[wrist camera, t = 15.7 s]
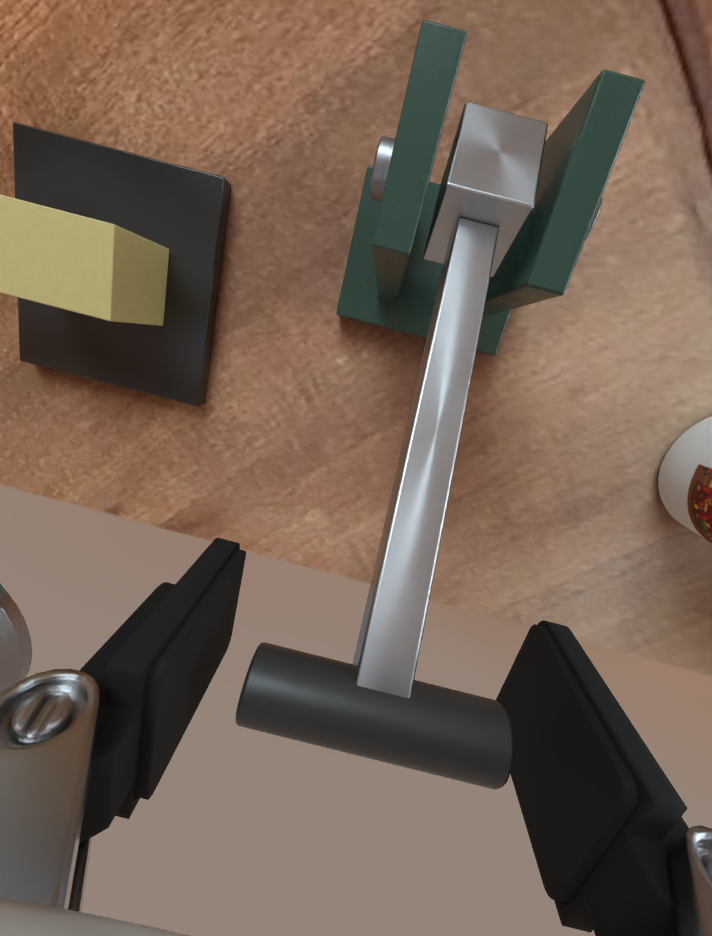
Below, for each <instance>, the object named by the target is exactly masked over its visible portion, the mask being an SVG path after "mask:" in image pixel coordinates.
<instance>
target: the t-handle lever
mask: <svg viewBox="0 0 712 936" xmlns="http://www.w3.org/2000/svg"><path fill="white" fill-rule="evenodd" d="M547 127H548V124H547V123H545V122H541V121H538V120H534V119H530V118H526V117H523V116H519V115H515V114H511V113H508V112H504V111H500V110H496V109H493V108H489V107H485V106H481V105H478V104H474V103H470V102H466V104H465V105H464V108H463V112H462V115H461V118H460V122H459V125H458V128H457V132H456V135H455V138H454V142H453V145H452V148H451V152H450V155H449V158H448V162H447V165H446V169H445V172H444V175H443V179H442V182H441V185H440V189H439V193H438V197H437V201H436V205H435V209H434V214H433V218H432V222H431V226H430V230H429V234H428V238H427V242H426V246H425V251H424V255H423V258H424V259H425V260H428V261H432V262H436V263H439V264H443V268H442V272H441V276H440V281H439V285H438V290H437V294H436V298H435V303H434V307H433V312H432V316H431V321H430V325H429V329H428V334H427V338H426V343H425V347H424V351H423V356H422V360H421V365H420V369H419V374H418V378H417V382H416V387H415V391H414V396H413V400H412V404H411V409H410V413H409V418H408V422H407V427H406V431H405V435H404V440H403V444H402V449H401V453H400V457H399V462H398V466H397V471H396V475H395V480H394V484H393V488H392V493H391V497H390V502H389V506H388V511H387V515H386V519H385V524H384V528H383V533H382V537H381V541H380V546H379V550H378V555H377V559H376V564H375V568H374V572H373V577H372V581H371V586H370V590H369V595H368V599H367V603H366V608H365V612H364V617H363V621H362V626H361V630H360V634H359V639H358V643H357V647H356V652H355V656H354V661H353V664H349V663H344V662H341V661H337V660H333V659H329V658H325V657H321V656H317V655H312V654H309V653H305V652H301V651H297V650H293V649H289V648H285V647H281V646H277V645H273V644H269V643H265V642H264V643H261V644H260V645H259V646H258V648H257V650H256V652H255V654H254V656H253V659H252V661H251V664H250V666H249V670H248V672H247V675H246V678H245V681H244V685H243V688H242V691H241V695H240V698H239V702H238V707H237V711H236V724H237V725H239V726H242V727H246V728H250V729H254V730H258V731H262V732H266V733H270V734H274V735H278V736H282V737H286V738H290V739H294V740H298V741H302V742H306V743H310V744H314V745H318V746H322V747H326V748H331V749H334V750H338V751H342V752H346V753H350V754H354V755H358V756H362V757H366V758H370V759H374V760H378V761H382V762H386V763H390V764H394V765H398V766H402V767H406V768H410V769H415V770H419V771H423V772H427V773H431V774H435V775H439V776H443V777H447V778H451V779H455V780H459V781H463V782H467V783H471V784H475V785H479V786H483V787H487V788H491V789H498V788H501V787H503V786H504V784H506V782H507V780H508V778H509V775H510V772H511V768H512V762H513V749H514V748H513V732H512V726H511V722H510V719H509V716H508V713H507V711H506V709H505V708H504V706H503V705H502V704H501V703H499V702H498V701H496V700H492V699H488V698H484V697H480V696H476V695H472V694H468V693H464V692H460V691H456V690H452V689H448V688H444V687H440V686H436V685H432V684H428V683H424V682H420V681H416V680H414V678H415V672H416V667H417V661H418V656H419V650H420V646H421V640H422V635H423V629H424V624H425V619H426V614H427V608H428V603H429V598H430V593H431V587H432V582H433V577H434V571H435V566H436V561H437V556H438V550H439V545H440V540H441V534H442V529H443V524H444V518H445V513H446V508H447V503H448V497H449V492H450V487H451V481H452V476H453V471H454V465H455V460H456V455H457V450H458V444H459V439H460V434H461V428H462V423H463V418H464V412H465V407H466V402H467V396H468V391H469V386H470V381H471V375H472V370H473V365H474V359H475V354H476V349H477V343H478V338H479V333H480V328H481V322H482V317H483V312H484V306H485V301H486V296H487V290H488V285H489V280H490V277H494V276H495V274H496V273H497V271H498V269H499V267H500V266H501V264H502V262H503V261H504V259H505V257H506V255H507V254H508V252H509V250H510V249H511V247H512V245H513V243H514V242H515V240H516V238H517V237H518V235H519V233H520V232H521V230H522V228H523V226H524V225H525V223H526V221H527V220H528V218H529V216H530V214H531V213H532V211H533V209H534V207H535V201H536V195H537V188H538V182H539V176H540V170H541V164H542V158H543V152H544V146H545V140H546V133H547Z"/></svg>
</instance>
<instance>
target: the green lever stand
mask: <svg viewBox="0 0 712 936" xmlns="http://www.w3.org/2000/svg"><path fill="white" fill-rule="evenodd" d="M466 36H467V32H466V31H464V30H460V29H456V28H453V27H449V26H445V25H441V24H438V23H434V22H430V21H426V20H423V22H422V24H421V29H420V33H419V38H418V42H417V46H416V51H415V55H414V60H413V64H412V68H411V73H410V77H409V81H408V86H407V90H406V95H405V99H404V103H403V108H402V112H401V116H400V121H399V125H398V130H397V134H396V138H395V139H393V138H389V137H385V136H382V137H381V139H380V141H379V144H378V147H377V151H376V155H375V160H374V165H373V167H372V166H368V168H367V172H366V177H365V182H364V186H363V191H362V196H361V200H360V205H359V210H358V214H357V219H356V224H355V228H354V233H353V238H352V242H351V247H350V252H349V256H348V261H347V266H346V270H345V275H344V280H343V284H342V289H341V294H340V299H339V303H338V308H337V315H338V316H340V317H344V318H348V319H352V320H356V321H360V322H363V323H367V324H371V325H375V326H379V327H383V328H386V329H390V330H394V331H398V332H402V333H406V334H410V335H413V336H417V337H421V338H425V339H426V338H427V334H428V329H429V325H430V321H431V316H432V312H433V307H434V303H435V298H436V294H437V290H438V285H439V281H440V276H441V272H442V268H443V264H439V263H436V262H432V261H428V260H425V259H424V258H423V255H424V251H425V246H426V242H427V238H428V234H429V230H430V226H431V222H432V218H433V214H434V209H435V205H436V201H437V197H438V193H439V189H440V184H437V183H433V182H429V179H430V176H431V172H432V168H433V164H434V160H435V156H436V152H437V148H438V145H439V141H440V137H441V133H442V129H443V125H444V121H445V118H446V114H447V110H448V106H449V102H450V98H451V94H452V91H453V87H454V83H455V79H456V75H457V71H458V67H459V63H460V60H461V56H462V52H463V48H464V44H465V40H466ZM644 84H645V81H644V80H642V79H638V78H635V77H631V76H627V75H623V74H620V73H616V72H612V71H608V70H603V71H602V72H601V73H600V74H599V75H598V77H597V78H596V79H595V80H594V82H593V83H592V84H591V86H590V87H589V88H588V89H587V91H586V92H585V93H584V94H583V96H582V97H581V98H580V99H579V101H578V102H577V103H576V104H575V106H574V107H573V108H572V109H571V111H570V112H569V113H568V114H567V116H566V117H565V118H564V119H563V121H562V122H561V123H560V124H559V126H558V127H557V128H556V129H555V131H554V132H553V133H552V134H551V136H550V137H549V138H548V139H547V141H546V142H545V146H544V152H543V158H542V164H541V170H540V176H539V182H538V188H537V195H536V201H535V207H534V209H533V211H532V213H531V214H530V216H529V218H528V220H527V221H526V223H525V225H524V226H523V228H522V230H521V232H520V233H519V235H518V237H517V238H516V240H515V242H514V243H513V245H512V247H511V249H510V250H509V252H508V254H507V255H506V257H505V259H504V261H503V262H502V264H501V266H500V267H499V269H498V271H497V273H496V274H495V276H494V277H490V280H489V285H488V290H487V296H486V301H485V306H484V312H483V317H482V322H481V328H480V333H479V338H478V343H477V349H476V352H479V353H483V354H486V355H493V356H495V355H496V353H497V350H498V347H499V344H500V341H501V338H502V335H503V333H504V330H505V327H506V324H507V321H508V318H509V315H510V312H511V309H514V308H518V307H522V306H525V305H529V304H532V303H536V302H539V301H543V300H547V299H550V298H554V297H557V296H561V295H563V294H564V293H565V291H566V288H567V286H568V283H569V280H570V278H571V275H572V273H573V270H574V267H575V265H576V262H577V260H578V257H579V254H580V252H581V249H582V247H583V244H584V241H585V240H586V238H587V237H588V235H589V234H590V232H591V230H592V229H593V227H594V225H595V222H596V220H597V218H598V215H599V212H600V209H601V205H602V194H603V192H604V189H605V186H606V184H607V181H608V179H609V176H610V173H611V171H612V168H613V166H614V163H615V160H616V158H617V155H618V153H619V150H620V147H621V145H622V142H623V139H624V137H625V134H626V132H627V129H628V126H629V124H630V121H631V119H632V116H633V113H634V111H635V108H636V105H637V103H638V100H639V98H640V95H641V92H642V90H643V87H644Z"/></svg>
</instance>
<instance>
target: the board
mask: <svg viewBox="0 0 712 936" xmlns="http://www.w3.org/2000/svg"><path fill="white" fill-rule="evenodd" d="M13 141H14V175H15V199H19V200H23V201H27V202H31V203H34V204H38V205H42V206H46V207H50V208H54V209H57V210H61V211H65V212H69V213H73V214H77V215H80V216H84V217H88V218H92V219H96V220H100V221H103V222H107V223H111V224H115V225H117V226H119V227H121V228H123V229H126V230H128V231H130V232H132V233H135V234H137V235H139V236H141V237H144V238H146V239H148V240H150V241H152V242H155V243H157V244H159V245H161V246H164V247H166V248H168V249H169V259H168V272H167V284H166V296H165V308H164V320H163V326H159V325H147V324H136V323H124V322H113V321H107V320H103V319H99V318H95V317H92V316H88V315H84V314H80V313H76V312H72V311H68V310H65V309H61V308H57V307H53V306H49V305H45V304H41V303H37V302H34V301H30V300H26V299H22V298H18V310H19V344H20V360H21V361H23V362H27V363H31V364H35V365H39V366H43V367H47V368H51V369H55V370H59V371H62V372H66V373H70V374H74V375H78V376H82V377H86V378H90V379H94V380H97V381H101V382H105V383H109V384H113V385H117V386H121V387H125V388H129V389H132V390H136V391H140V392H144V393H148V394H152V395H156V396H160V397H164V398H168V399H171V400H175V401H179V402H183V403H187V404H191V405H195V406H199V405H202V404H204V403H205V395H206V387H207V379H208V370H209V362H210V354H211V346H212V337H213V329H214V321H215V313H216V304H217V296H218V288H219V280H220V271H221V263H222V255H223V247H224V238H225V230H226V222H227V214H228V205H229V197H230V189H231V184H230V183H229V182H228V181H227V180H226V179H225V178H224V177H221V176H217V175H213V174H210V173H206V172H202V171H198V170H194V169H191V168H187V167H183V166H179V165H175V164H172V163H168V162H164V161H160V160H156V159H153V158H149V157H145V156H141V155H137V154H134V153H130V152H126V151H122V150H118V149H115V148H111V147H107V146H103V145H99V144H96V143H92V142H88V141H84V140H80V139H77V138H73V137H69V136H65V135H61V134H57V133H54V132H50V131H46V130H42V129H38V128H35V127H31V126H27V125H23V124H19V123H16V122H13Z"/></svg>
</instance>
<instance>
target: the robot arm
mask: <svg viewBox="0 0 712 936" xmlns="http://www.w3.org/2000/svg"><path fill="white" fill-rule="evenodd" d="M245 556H246V551H243V550H240V544H239V543H236V542H232V541H228V540H224V539H220V538H216V539H215V540H214V541H213V542H212V543H211V545H210V546H209V547H208V548H207V549H206V550H205V551H204V552H203V554H202V555H201V556H200V557H199V558H198V559H197V560H196V562H195V563H194V564H193V565H192V566H191V568H190V569H189V570H188V571H187V572H186V573H185V574H184V575H183V577H182V578H181V579H180V580H179V581H178V582H177V583H176V585H174V584H171V583H167V582H165V583H162V584H161V585H160V586H159V587H157V588H156V589H155V590H154V591H153V593H152V594H151V595H150V596H149V597H148V598H147V599H146V600H145V601H144V602H143V603H142V605H140V606H139V608H138V609H137V610H136V611H135V612H134V613H133V614H132V615H131V616H130V617H129V618H128V619H127V620H126V621H125V623H124V624H123V625H122V626H121V627H120V628H119V629H118V630H117V631H116V632H115V633H114V634H113V635H112V636H111V637H110V639H109V640H108V641H107V642H106V643H105V644H104V645H103V646H102V647H101V648H100V649H99V650H98V651H97V652H96V654H95V655H94V656H93V657H92V658H91V659H90V660H89V661H88V662H87V663H86V664H85V665H84V667H82V669H81V670H80V671H78V670H73V669H54V670H50V671H46V672H41V673H37V674H35V675H32V676H30V677H28V678H25V679H23V680H20V681H19V682H17V683H15V684H14V685H12V686H11V687H9V688H7V689H6V690H4V691H3V692H2V693H1V694H0V936H188V935H184V934H180V933H176V932H171V931H167V930H163V929H159V928H153V927H149V926H144V925H139V924H135V923H130V922H125V921H120V920H116V919H111V918H106V917H102V916H96V915H92V914H87V913H82V912H81V911H82V905H83V898H84V890H85V883H86V876H87V869H88V862H89V854H90V848H91V841H92V837H93V836H95V835H96V834H98V833H100V832H102V831H103V830H105V829H107V828H108V827H109V825H110V824H111V822H112V820H113V818H114V817H115V816H119V817H123V818H127V819H129V818H130V816H131V814H132V812H133V810H134V808H135V806H136V804H137V803H138V801H139V799H140V798H143V799H147V800H148V799H149V798H150V797H151V795H152V794H153V792H154V791H155V789H156V787H157V785H158V783H159V781H160V779H161V777H162V775H163V773H164V771H165V769H166V767H167V765H168V764H169V761H170V760H171V757H172V756H173V754H174V752H175V750H176V748H177V746H178V744H179V742H180V740H181V738H182V736H183V734H184V732H185V730H186V729H187V726H188V724H189V723H190V721H191V719H192V717H193V715H194V713H195V711H196V709H197V707H198V705H199V703H200V701H201V699H202V697H203V695H204V694H205V692H206V689H207V688H208V686H209V684H210V682H211V680H212V678H213V676H214V674H215V672H216V670H217V668H218V666H219V664H220V662H221V660H222V658H223V657H224V655H225V653H226V651H227V648H228V646H229V642H230V639H231V635H232V630H233V624H234V619H235V613H236V608H237V602H238V596H239V590H240V585H241V579H242V573H243V568H244V562H245ZM496 701H498V702H499V703H501V704H502V705H503V706H504V708H505V709H506V711H507V713H508V716H509V719H510V722H511V726H512V732H513V748H514V749H513V762H512V768H511V772H510V773H511V777H512V780H513V783H514V786H515V790H516V794H517V797H518V800H519V804H520V807H521V811H522V814H523V817H524V821H525V824H526V827H527V831H528V834H529V837H530V841H531V844H532V848H533V851H534V854H535V858H536V861H537V864H538V868H539V871H540V875H541V878H542V881H543V885H544V887H545V890H546V892H547V894H548V896H549V897H550V898H551V899H553V900H554V901H555V904H556V907H557V910H558V914H559V917H560V920H561V923H562V925H563V926H567V927H571V928H575V929H579V930H583V931H587V932H592V930H593V929H594V932H595V935H596V936H712V829H711V828H707V827H704V826H694V827H691V828H690V829H689V828H688V826H687V825H686V823H685V822H684V820H683V818H682V817H681V816H682V815H683V813H684V812H685V811H686V810H687V807H686V806H685V804H684V803H683V801H682V800H681V798H680V797H679V795H678V793H677V792H676V790H675V789H674V787H673V786H672V784H671V783H670V781H669V780H668V778H667V777H666V775H665V774H664V772H663V771H662V769H661V768H660V766H659V764H658V763H657V761H656V760H655V758H654V757H653V755H652V754H651V752H650V751H649V749H648V748H647V746H646V745H645V743H644V742H643V740H642V739H641V737H640V735H639V734H638V733H637V731H636V729H635V728H634V726H633V725H632V723H631V722H630V720H629V719H628V717H627V716H626V714H625V713H624V711H623V710H622V708H621V706H620V705H619V703H618V702H617V700H616V699H615V697H614V696H613V694H612V693H611V691H610V690H609V688H608V687H607V685H606V684H605V682H604V681H603V679H602V677H601V676H600V675H599V673H598V671H597V670H596V669H595V667H594V665H593V664H592V662H591V661H590V659H589V658H588V656H587V655H586V653H585V652H584V650H583V649H582V647H581V645H580V644H579V642H578V641H577V639H576V638H575V636H574V635H573V633H572V632H571V630H570V629H569V628H568V627H566V626H563V625H560V624H556V623H552V622H548V621H541V622H539V623H538V625H533V626H532V627H531V628H530V630H529V632H528V634H527V636H526V638H525V640H524V642H523V645H522V647H521V649H520V651H519V653H518V655H517V657H516V659H515V661H514V664H513V666H512V668H511V670H510V672H509V674H508V676H507V678H506V680H505V682H504V684H503V686H502V688H501V691H500V693H499V695H498V697H497V699H496Z"/></svg>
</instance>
